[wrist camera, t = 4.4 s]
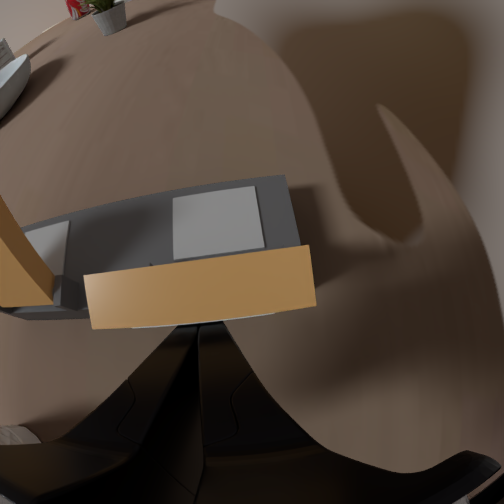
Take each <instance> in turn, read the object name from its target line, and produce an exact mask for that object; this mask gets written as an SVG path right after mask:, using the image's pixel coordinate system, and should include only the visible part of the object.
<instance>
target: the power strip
mask: <svg viewBox="0 0 504 504" xmlns="http://www.w3.org/2000/svg"><path fill="white" fill-rule="evenodd" d="M21 230H22V231H23V233H24V234H25V236H26V237H27V239H28V240H29V242H30V243H31V245H32V246H33V248H34V249H35V250H36V252H37V253H38V254H39V256H40V257H41V259H42V260H43V261H44V263H45V264H46V265H47V266H48V268H49V269H50V270H51V272H52V273H53V274H54V275H55V281H54V298H53V305H40V306H22V307H1V306H0V312H2V313H5V314H8V315H12V316H15V317H18V318H22V319H25V320H61V319H86V318H90V314H89V309H88V303H87V297H86V290H85V283H84V275H90V274H97V273H105V272H112V271H119V270H127V269H134V268H142V267H149V266H156V265H164V264H171V263H178V262H186V261H193V260H200V259H208V258H215V257H223V256H230V255H237V254H245V253H252V252H259V251H267V250H274V249H281V248H289V247H296V246H301V243H300V239H299V234H298V229H297V225H296V220H295V216H294V212H293V207H292V203H291V199H290V195H289V190H288V186H287V182H286V178H285V175H276V176H267V177H258V178H250V179H242V180H235V181H227V182H220V183H214V184H207V185H201V186H195V187H189V188H183V189H177V190H172V191H166V192H161V193H156V194H151V195H146V196H141V197H136V198H131V199H127V200H122V201H117V202H113V203H109V204H104V205H100V206H96V207H92V208H88V209H84V210H80V211H76V212H73V213H69V214H65V215H62V216H58V217H54V218H51V219H47V220H44V221H41V222H37V223H34V224H31V225H28V226H24V227H21Z"/></svg>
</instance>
